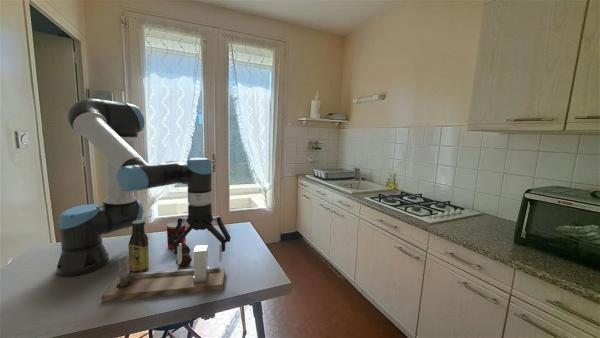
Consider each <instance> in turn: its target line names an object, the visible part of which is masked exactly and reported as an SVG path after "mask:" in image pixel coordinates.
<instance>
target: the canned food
mask: <svg viewBox="0 0 600 338" xmlns="http://www.w3.org/2000/svg"><path fill="white" fill-rule="evenodd" d="M177 223H178V220H177V221H171V222H169V223H167V224H166V238H167V242H166V243H167V247H168V249H169V250H172V251H174V246H173V245H168V241H169V239H170V238H171V236H172V234H173V232H174V230H175V228H176V226H177ZM185 230H186V222H185V223H184V224H182V226H181V228H180V229H179V231H178V233H177V235H176V237H175V239H174V240H177V239H178V238H179V237H180V236H181V235H182V233H183V232H184V231H185ZM186 236H187V235H186ZM186 236H185V237H184V238H183V240H182V241H181V242H180V243H182V245H183V244H186V243H187V242H186V241H187V240H186V239H187V238H186ZM186 245H187V244H186Z"/></svg>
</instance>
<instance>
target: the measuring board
mask: <svg viewBox="0 0 600 338" xmlns="http://www.w3.org/2000/svg"><path fill="white" fill-rule="evenodd" d="M118 269H119V270H118V271H119V277H117V278H116V279H115V280H114V281H113V283H111V285H110V286H109V287H108V288H106V290H105V291H104V292H103V294H102V295H101V302H112V301H121V300H122V301H123V300H124V301H125V300H133V299H143V298H152V297H153V298H154V297H164V296H175V295H183V294H193V293H195V294H196V293H203V292H204V293H205V292H211V291H212V292H213V291H222V290H223V289H224V282H225V275H226V268H220V266H208V275H207V279H206V282H197V283H193V277H194V268H180V269H172V270H171V269H170V270H160V271H158V270H157V271H145V272H143V273H130V274H128V264H127V256H126V255H125V254H122V255H120V256H118Z"/></svg>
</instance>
